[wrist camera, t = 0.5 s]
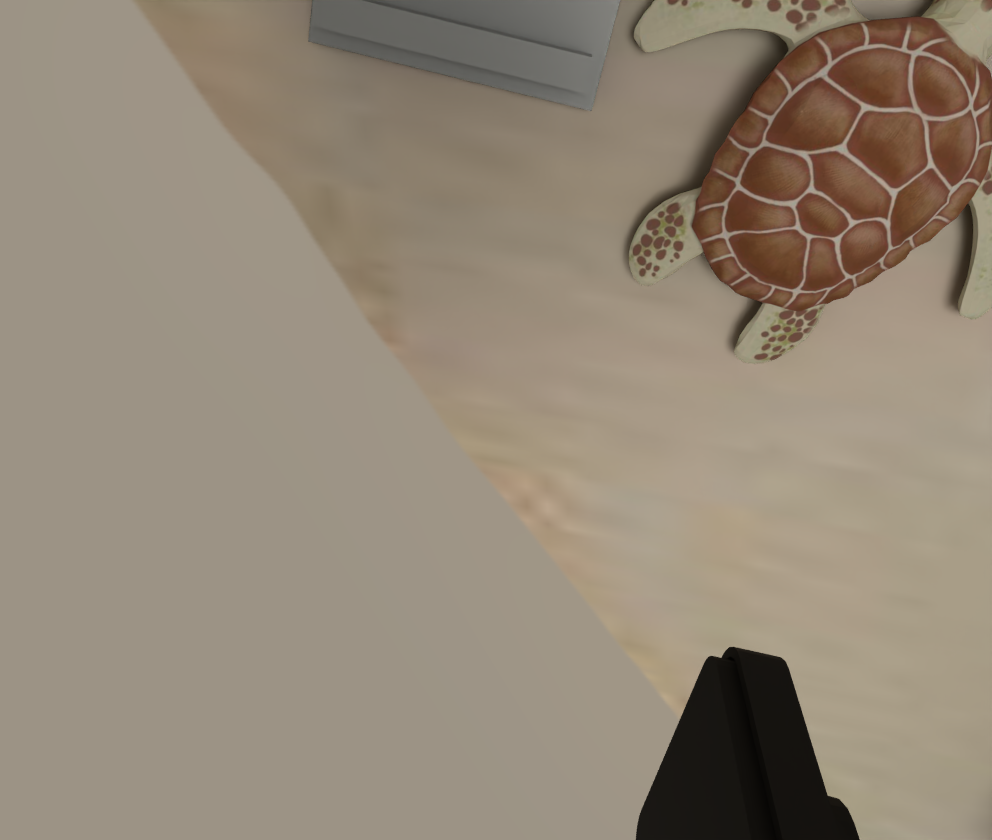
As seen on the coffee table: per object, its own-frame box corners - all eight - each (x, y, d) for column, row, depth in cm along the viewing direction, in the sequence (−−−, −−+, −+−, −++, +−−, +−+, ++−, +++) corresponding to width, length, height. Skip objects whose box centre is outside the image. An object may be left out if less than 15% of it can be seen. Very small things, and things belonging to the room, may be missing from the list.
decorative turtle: (1173, 116, 31) (1272, 137, 26) (837, 425, 38) (870, 482, 33) (817, -230, 27) (862, -273, 23) (518, 182, 34) (508, 210, 30)
